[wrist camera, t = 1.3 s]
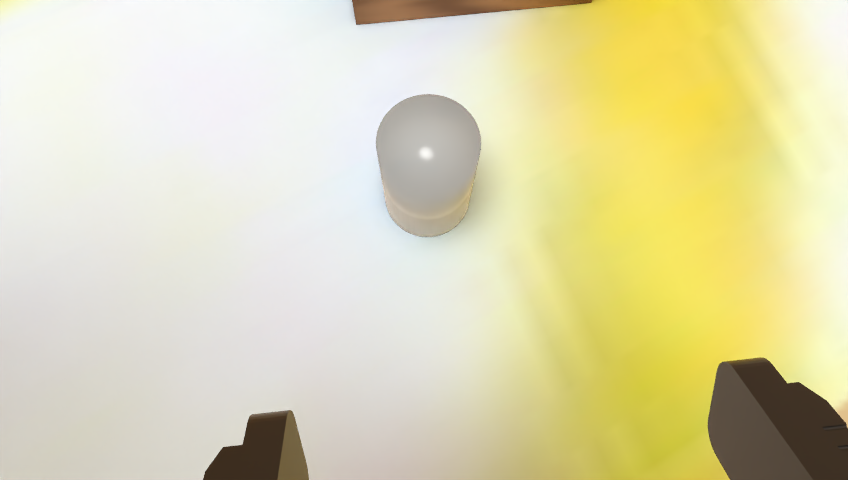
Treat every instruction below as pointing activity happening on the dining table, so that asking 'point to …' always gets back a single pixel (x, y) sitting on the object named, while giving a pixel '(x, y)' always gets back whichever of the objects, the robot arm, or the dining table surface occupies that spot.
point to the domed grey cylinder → (428, 163)
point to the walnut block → (440, 8)
